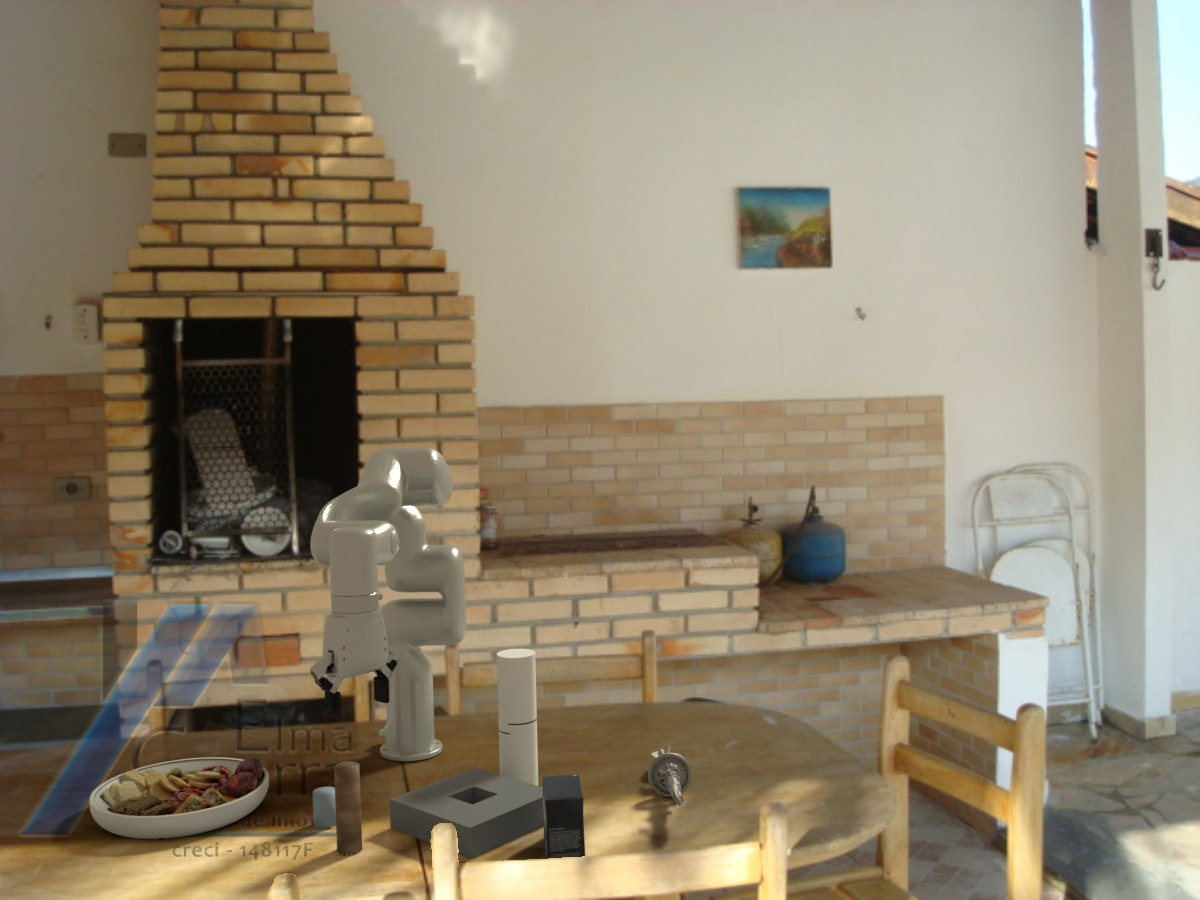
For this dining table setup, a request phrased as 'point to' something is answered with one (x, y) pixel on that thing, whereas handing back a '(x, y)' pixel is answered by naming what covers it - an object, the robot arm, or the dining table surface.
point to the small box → (563, 816)
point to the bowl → (179, 797)
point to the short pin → (324, 807)
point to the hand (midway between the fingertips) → (358, 708)
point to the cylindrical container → (517, 714)
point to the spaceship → (669, 774)
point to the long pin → (348, 808)
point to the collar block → (471, 810)
